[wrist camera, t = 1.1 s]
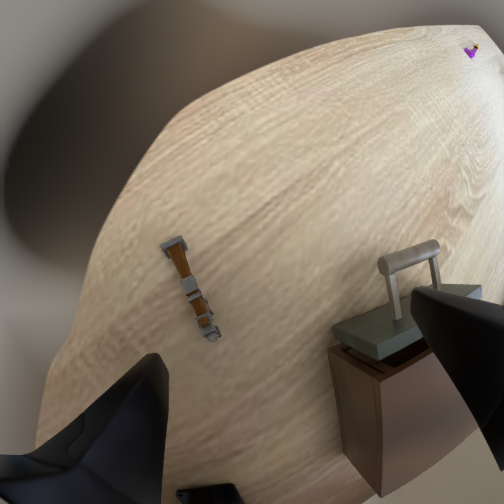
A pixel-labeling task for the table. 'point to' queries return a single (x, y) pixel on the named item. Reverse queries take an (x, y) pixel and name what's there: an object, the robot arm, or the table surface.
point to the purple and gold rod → (472, 53)
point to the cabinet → (397, 417)
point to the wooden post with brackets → (191, 288)
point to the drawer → (396, 314)
